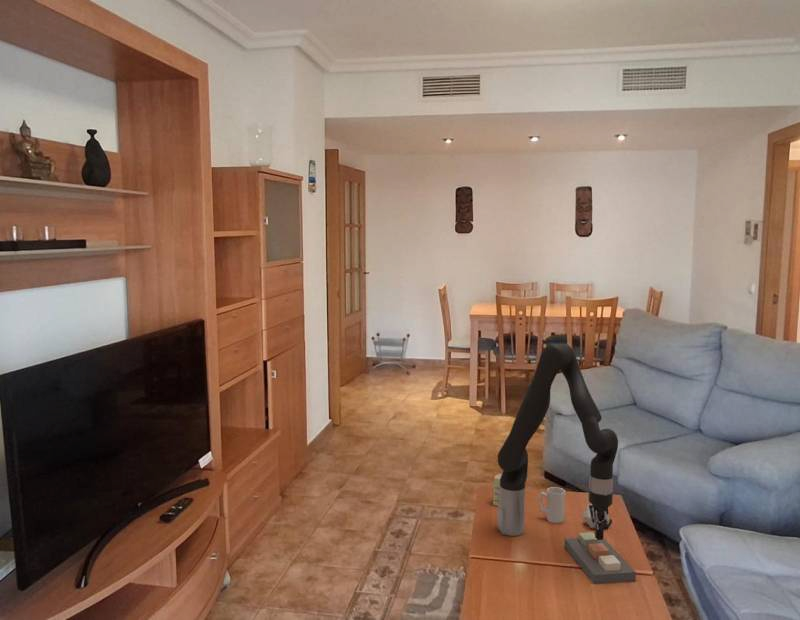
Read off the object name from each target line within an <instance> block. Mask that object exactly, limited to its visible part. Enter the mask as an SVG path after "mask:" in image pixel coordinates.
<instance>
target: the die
mask: <svg viewBox="0 0 800 620" xmlns="http://www.w3.org/2000/svg"><path fill="white" fill-rule="evenodd" d="M589 505H592V504H591V503H590V504H587V506H586V508H585V510H584V513H582V519H584V521H585V522H586V523H587V525H588V526H589V528H590V529H595V528H596V527H595V526H594V523H593V522H592V519H591V514H590V510H589ZM609 517H610V514H608V518H609ZM609 519H610V518H609Z"/></svg>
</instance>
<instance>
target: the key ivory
mask: <svg viewBox="0 0 800 620" xmlns="http://www.w3.org/2000/svg"><path fill="white" fill-rule="evenodd" d="M598 565H599V566H600V567H601V568H602V569H603V571H604V572H614V571H620V566H621V563H620V562H619V561H618V560H617V558H616V557H615V556H614V555H606V556H599V563H598Z"/></svg>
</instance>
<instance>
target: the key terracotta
mask: <svg viewBox="0 0 800 620" xmlns="http://www.w3.org/2000/svg"><path fill="white" fill-rule="evenodd" d="M588 553H589V554H590V555H591V556H592V558H593V559H599V556H606V555H609V550H608V549H607V548H606V547H605V545H604V544H603V543H598V544H588Z"/></svg>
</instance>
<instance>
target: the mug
mask: <svg viewBox="0 0 800 620" xmlns="http://www.w3.org/2000/svg"><path fill="white" fill-rule="evenodd" d="M544 497H545V498H546V508H544V507H543V505H542V499H543V498H544ZM565 500H566V490H565V489H564V488H562V487H557V486H552V487H548V488H547V489H546V492H544V491H543V492H542V491H541V492H540V495H539V496H538V500H537V503H538V507H539V510H540V512H541V513H543V514H546V520H547V522H549V523H552V524H562V523H563V522H564V519H565V518H564V517H565V516H564V515H565Z"/></svg>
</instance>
